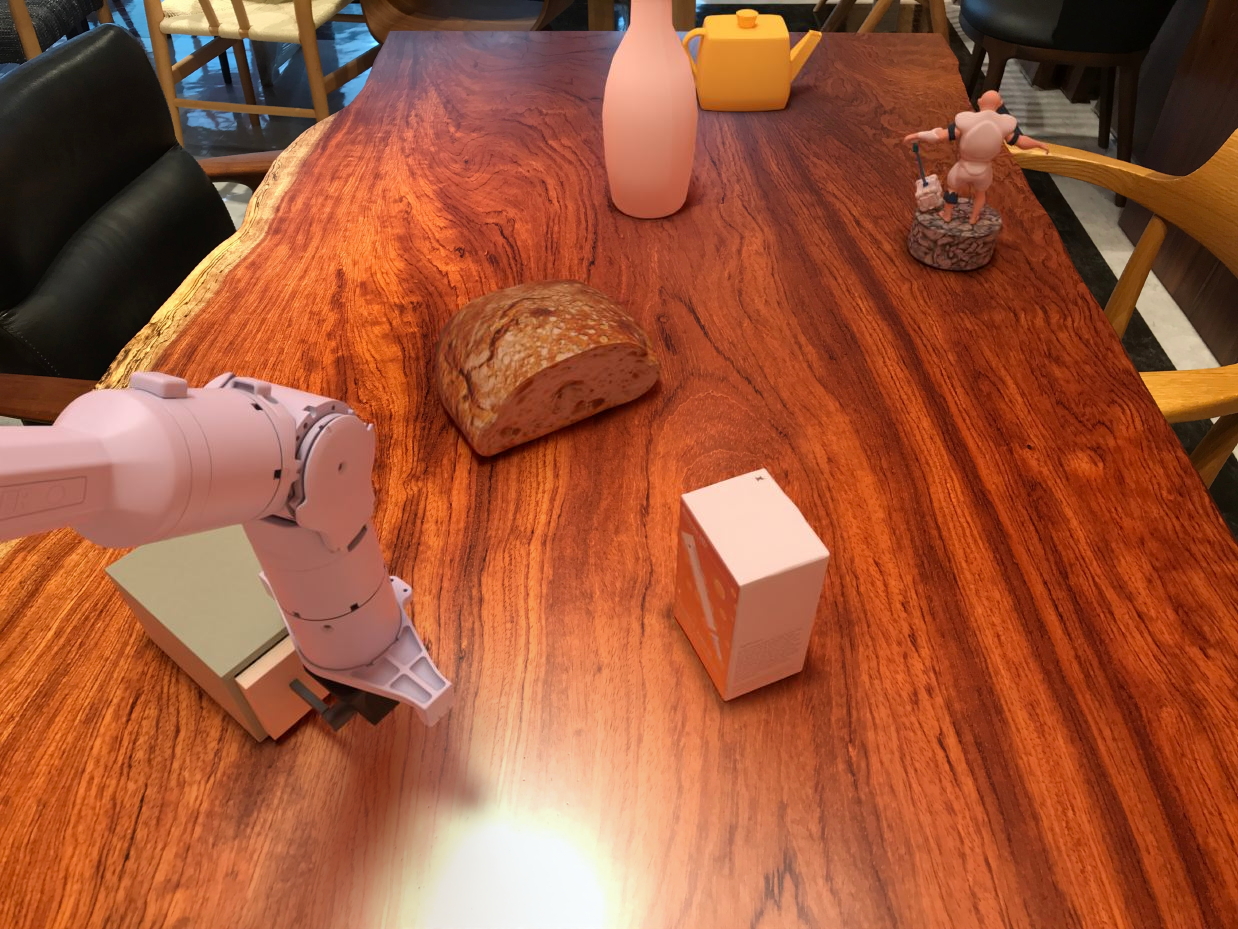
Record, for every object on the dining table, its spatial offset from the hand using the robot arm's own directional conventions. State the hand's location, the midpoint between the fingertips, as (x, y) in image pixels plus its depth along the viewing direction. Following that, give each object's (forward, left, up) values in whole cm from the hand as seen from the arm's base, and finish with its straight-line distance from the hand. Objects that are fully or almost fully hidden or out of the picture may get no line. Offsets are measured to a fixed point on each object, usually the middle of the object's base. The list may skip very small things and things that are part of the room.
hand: (382, 711), depth 56 cm
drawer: (0, +9, -2) cm, 9 cm away
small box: (+20, -14, -3) cm, 25 cm away
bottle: (+68, +30, -3) cm, 74 cm away
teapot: (+103, +38, -3) cm, 110 cm away
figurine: (+79, -4, -3) cm, 79 cm away
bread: (+34, +17, -3) cm, 38 cm away
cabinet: (0, +13, -3) cm, 14 cm away
